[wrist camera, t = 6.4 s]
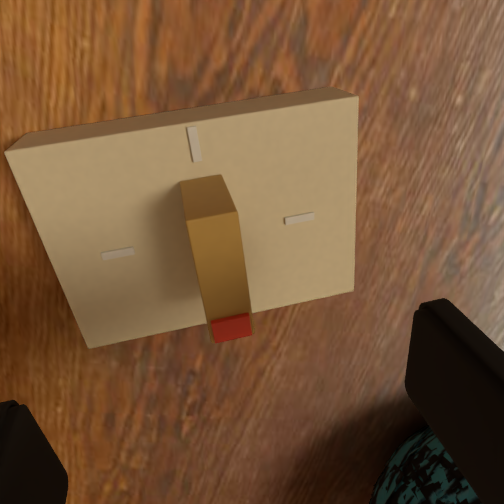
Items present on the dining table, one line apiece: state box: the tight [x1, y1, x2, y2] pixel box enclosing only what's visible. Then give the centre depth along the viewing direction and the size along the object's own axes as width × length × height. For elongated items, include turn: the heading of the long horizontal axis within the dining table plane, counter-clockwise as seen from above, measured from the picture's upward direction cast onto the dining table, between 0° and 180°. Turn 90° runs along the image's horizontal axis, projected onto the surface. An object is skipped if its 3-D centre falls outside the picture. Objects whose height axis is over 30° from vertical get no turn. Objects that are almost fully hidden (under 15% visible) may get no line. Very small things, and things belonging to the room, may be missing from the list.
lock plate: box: [4, 87, 359, 349], centre depth 20 cm, size 14×10×3 cm
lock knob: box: [180, 175, 255, 343], centre depth 16 cm, size 6×2×4 cm, turn 7°
